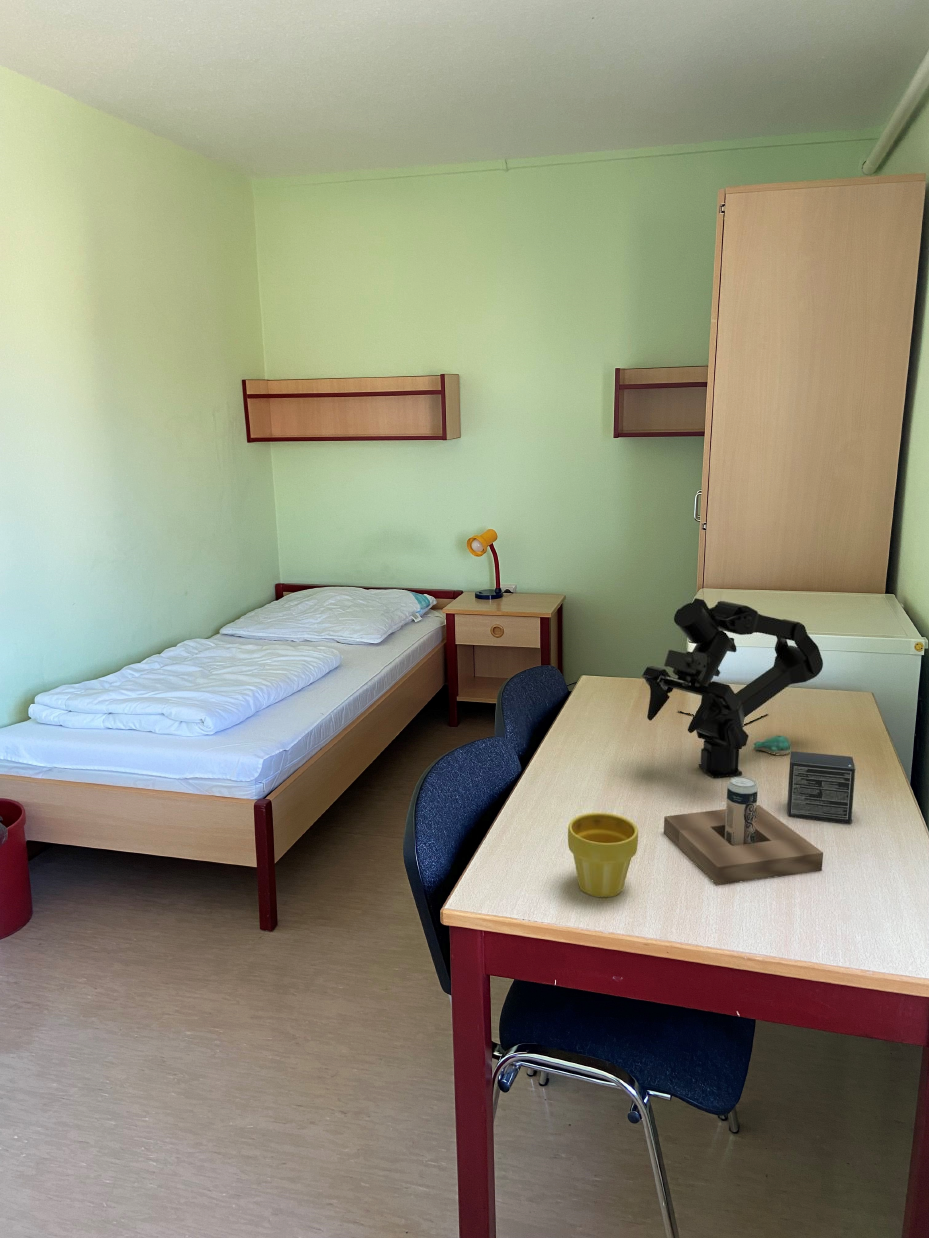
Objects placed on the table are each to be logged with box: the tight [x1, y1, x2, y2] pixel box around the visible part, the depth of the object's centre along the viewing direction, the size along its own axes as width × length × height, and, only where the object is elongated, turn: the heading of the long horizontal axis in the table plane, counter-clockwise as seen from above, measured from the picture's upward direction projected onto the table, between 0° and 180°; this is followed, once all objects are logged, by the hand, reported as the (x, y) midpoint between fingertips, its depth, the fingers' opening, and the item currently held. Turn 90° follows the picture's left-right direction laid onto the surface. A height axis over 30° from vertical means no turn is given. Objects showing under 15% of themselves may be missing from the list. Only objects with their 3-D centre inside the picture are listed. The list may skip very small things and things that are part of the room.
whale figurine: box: [753, 734, 792, 756], centre depth 184 cm, size 6×7×4 cm
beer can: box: [725, 776, 759, 846], centre depth 140 cm, size 5×5×12 cm
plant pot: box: [567, 812, 639, 898], centre depth 130 cm, size 10×10×10 cm
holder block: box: [663, 804, 824, 886], centre depth 141 cm, size 18×18×3 cm
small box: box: [786, 750, 857, 825], centre depth 154 cm, size 11×6×10 cm, turn 71°
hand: (668, 725), depth 161 cm, fingers open, 9 cm apart
